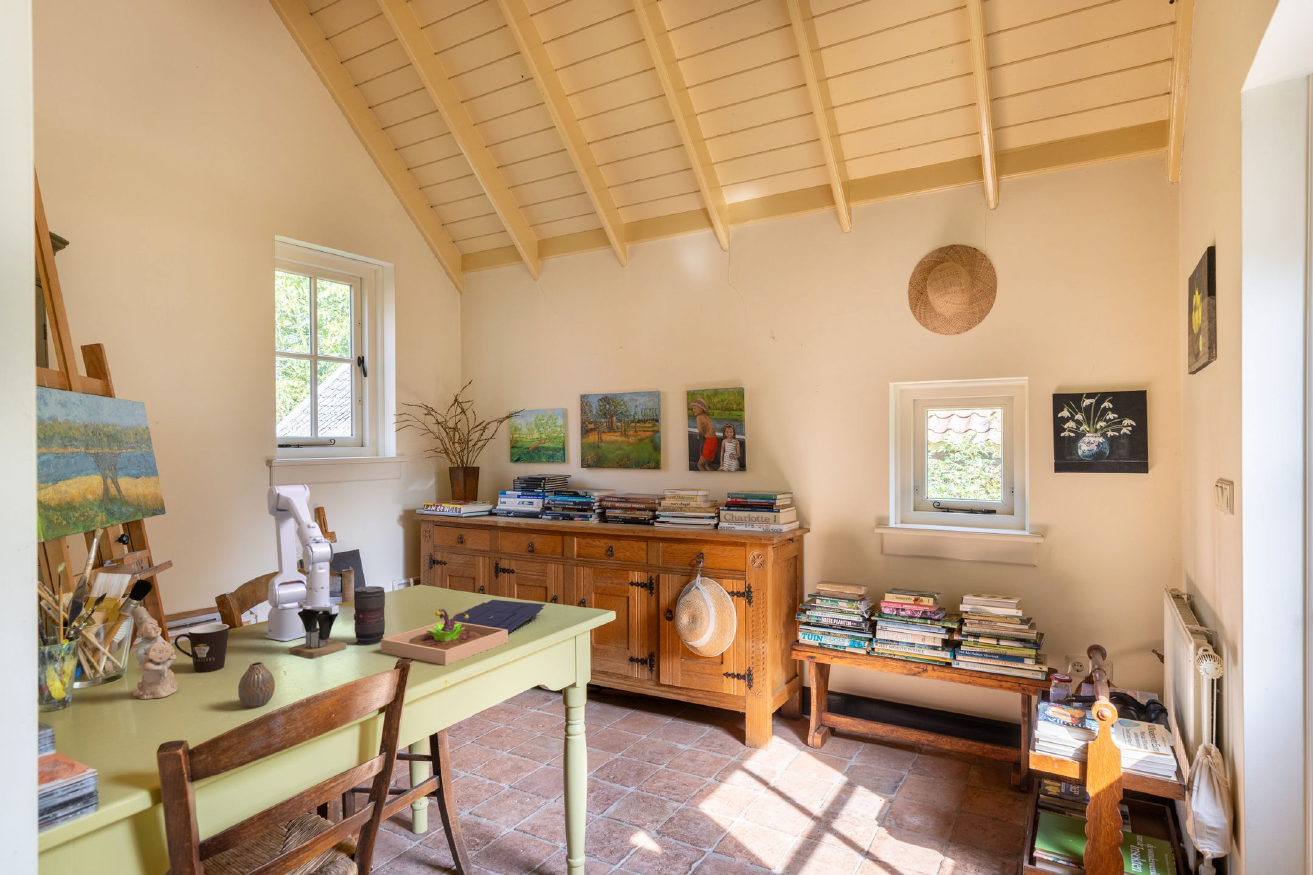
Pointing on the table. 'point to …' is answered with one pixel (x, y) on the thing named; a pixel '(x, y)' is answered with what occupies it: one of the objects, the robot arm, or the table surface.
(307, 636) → the ring
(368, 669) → the table surface
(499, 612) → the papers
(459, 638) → the plant
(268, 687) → the vase
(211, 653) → the coffee mug
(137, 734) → the table surface
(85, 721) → the table surface
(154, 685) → the figurine
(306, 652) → the shaft stand
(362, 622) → the camera lens
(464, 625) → the tan flat square tray
